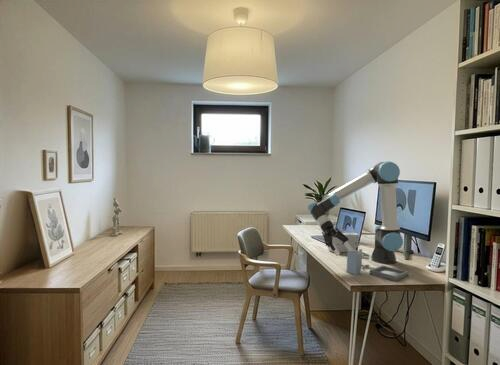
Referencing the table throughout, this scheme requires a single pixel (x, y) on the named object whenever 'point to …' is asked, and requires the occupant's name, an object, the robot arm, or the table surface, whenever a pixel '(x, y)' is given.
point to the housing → (389, 273)
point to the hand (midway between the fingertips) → (345, 253)
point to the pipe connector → (363, 256)
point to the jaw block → (354, 262)
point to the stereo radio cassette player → (352, 241)
